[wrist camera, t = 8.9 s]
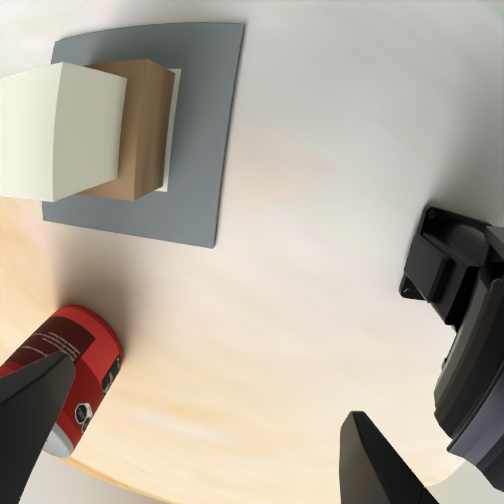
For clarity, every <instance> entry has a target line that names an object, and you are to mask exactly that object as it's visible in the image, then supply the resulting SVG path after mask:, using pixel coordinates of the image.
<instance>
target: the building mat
mask: <svg viewBox="0 0 504 504" xmlns="http://www.w3.org/2000/svg"><path fill="white" fill-rule="evenodd" d="M243 30H244V24H238V23H210V22H194V23H167V24H153V25H143V26H134V27H126V28H119V29H112V30H106V31H100V32H95V33H90V34H85V35H80V36H76V37H72V38H68V39H64V40H60V41H56V42H55V45H54V50H53V55H52V60H51V64H56V63H60V62H65V63H70V64H74V65H79V66H84V65H91V64H99V63H107V62H116V61H127V60H141V59H149V60H151V61H153V62H155V63H157V64H159V65H161V66H163V67H165V68H166V69H168V70H170V71H172V72H174V73H176V74H175V80H174V87H173V94H172V101H171V108H170V116H169V124H168V133H167V143H166V153H165V164H164V176H163V187H161V188H159V189H157V190H155V191H153V192H151V193H149V194H147V195H145V196H142V197H140V198H139V199H137V200H135V201H130V200H122V199H114V198H105V197H96V196H87V195H78V194H73V195H70V196H67V197H65V198H62V199H60V200H57V201H55V202H48V201H42V211H43V220H44V221H50V222H56V223H62V224H68V225H74V226H80V227H86V228H92V229H98V230H104V231H110V232H116V233H122V234H128V235H134V236H140V237H146V238H152V239H158V240H164V241H170V242H176V243H182V244H188V245H194V246H200V247H206V248H212V249H213V248H214V244H215V234H216V224H217V215H218V206H219V197H220V189H221V180H222V172H223V164H224V156H225V148H226V141H227V133H228V126H229V119H230V112H231V105H232V98H233V91H234V85H235V78H236V72H237V66H238V59H239V53H240V47H241V42H242V36H243Z"/></svg>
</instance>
